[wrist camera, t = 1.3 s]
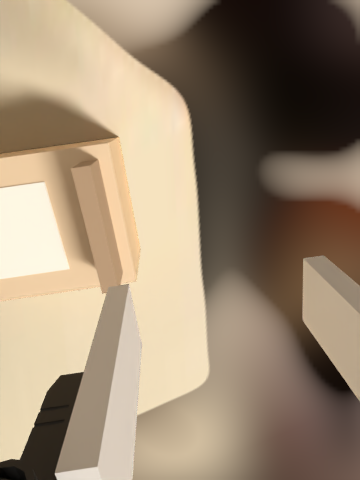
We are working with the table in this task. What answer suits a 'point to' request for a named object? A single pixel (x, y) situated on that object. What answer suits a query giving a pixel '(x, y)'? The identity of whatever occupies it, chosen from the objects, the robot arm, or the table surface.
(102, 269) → the lid
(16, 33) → the table surface
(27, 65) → the table surface
